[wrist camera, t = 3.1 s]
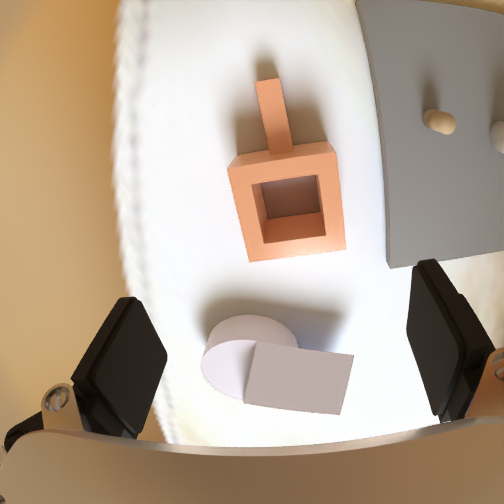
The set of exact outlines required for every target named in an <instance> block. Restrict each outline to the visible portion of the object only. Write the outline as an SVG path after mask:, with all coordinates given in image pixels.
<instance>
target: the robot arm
mask: <svg viewBox="0 0 504 504" xmlns="http://www.w3.org/2000/svg"><path fill="white" fill-rule="evenodd" d="M406 331H407V337H408V340H409V343H410V345H411V348H412V351H413V354H414V357H415V360H416V363H417V365H418V368H419V371H420V374H421V378H422V381H423V384H424V387H425V390H426V393H427V396H428V400H429V403H430V406H431V410H432V413H433V415H434V416H436V415H438V417H439V420H440V423H441V424H436V425H432V426H427V427H423V428H418V429H414V430H409V431H404V432H399V433H394V434H388V435H382V436H376V437H370V438H364V439H357V440H350V441H342V442H334V443H324V444H313V445H300V446H283V447H208V446H191V445H178V444H167V443H158V442H149V441H142V440H136V439H137V436H138V433H141V432H142V430H143V427H144V424H145V421H146V418H147V415H148V413H149V410H150V407H151V404H152V401H153V399H154V396H155V393H156V390H157V387H158V385H159V382H160V379H161V376H162V373H163V371H164V368H165V365H166V362H167V352H166V350H165V348H164V346H163V344H162V342H161V340H160V338H159V336H158V334H157V333H156V331H155V329H154V327H153V325H152V323H151V321H150V319H149V316H148V314H147V312H146V310H145V308H144V306H143V304H142V302H141V301H140V300H137V298H136V297H122V298H119V299H118V301H117V302H116V304H115V305H114V307H113V309H112V310H111V312H110V313H109V315H108V317H107V318H106V320H105V321H104V323H103V324H102V326H101V328H100V329H99V331H98V333H97V334H96V336H95V338H94V339H93V341H92V342H91V344H90V346H89V347H88V349H87V351H86V353H85V354H84V356H83V358H82V359H81V361H80V363H79V364H78V366H77V368H76V370H75V371H74V373H73V375H72V377H71V380H72V381H73V382H74V385H73V387H72V386H70V385H69V384H66V383H60V384H57V385H55V386H53V387H52V388H50V389H49V390H48V391H47V392H46V394H45V395H44V397H43V399H42V402H41V409H42V411H40V412H38V413H37V414H35V415H33V416H31V417H30V418H28V419H26V420H25V421H23V422H21V423H19V424H17V425H16V426H14V427H13V428H11V429H10V430H9V431H8V432H7V435H6V437H5V441H4V447H5V448H4V447H3V446H1V447H0V504H504V348H499V349H497V350H496V349H495V347H494V345H493V343H492V342H491V340H490V338H489V336H488V335H487V333H486V331H485V329H484V328H483V326H482V324H481V323H480V321H479V319H478V318H477V316H476V314H475V313H474V311H473V309H472V308H471V306H470V305H469V303H468V301H467V300H466V298H465V297H464V296H463V295H462V294H459V293H458V292H457V290H456V289H455V287H454V285H453V284H452V282H451V281H450V279H449V278H448V276H447V275H446V273H445V272H444V270H443V269H442V268H441V266H440V265H439V263H438V262H437V260H436V259H434V258H432V259H426V260H420V261H418V263H417V266H413V269H412V280H411V291H410V301H409V311H408V319H407V327H406ZM447 421H450V422H447ZM444 422H446V423H444ZM121 437H122V438H121Z"/></svg>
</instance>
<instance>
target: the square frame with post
mask: <svg viewBox="0 0 504 504" xmlns="http://www.w3.org/2000/svg"><path fill="white" fill-rule="evenodd" d="M255 86H256V91H257V95H258V100H259V105H260V109H261V114H262V119H263V124H264V128H265V133H266V138H267V143H268V148H269V150H263V151H257V152H251V153H246V154H241V155H237V156H236V157H235V159H234V160H233V161H232V163H231V164H230V165H229V167H228V168H227V171H228V175H229V180H230V184H231V188H232V192H233V196H234V200H235V205H236V209H237V213H238V217H239V221H240V225H241V230H242V234H243V238H244V242H245V246H246V250H247V254H248V259H249V262H255V261H263V260H271V259H279V258H287V257H295V256H302V255H310V254H318V253H325V252H333V251H341V250H346V242H345V230H344V218H343V208H342V199H341V190H340V181H339V173H338V165H337V157H336V152H335V150H334V149H333V147H332V146H331V145H330V143H329V142H328V141H323V142H315V143H308V144H301V145H294V146H293V144H292V139H291V133H290V128H289V123H288V118H287V113H286V107H285V102H284V98H283V93H282V88H281V83H280V79H279V78H274V79H269V80H263V81H258V82H255ZM310 175H316V181H317V188H318V195H319V202H320V210H321V212H316V213H309V214H302V215H294V216H287V217H280V218H273V219H268V218H267V213H266V208H265V203H264V199H263V194H262V189H261V184H260V183H263V182H269V181H276V180H282V179H289V178H296V177H302V176H310Z"/></svg>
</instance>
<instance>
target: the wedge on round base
mask: <svg viewBox="0 0 504 504" xmlns="http://www.w3.org/2000/svg"><path fill="white" fill-rule="evenodd" d="M353 358H354V355H347V354H339V353H331V352H323V351H316V350H309V349H302V348H298V342H297V340H296V337H295V336H294V334H293V333H292V332H291V331H290V330H289V329H288V328H287V327H286V326H285V325H283V324H281V323H280V322H278V321H276V320H274V319H271V318H268V317H264V316H260V315H238V316H233V317H230V318H227V319H225V320H223V321H221V322H220V323H218V324H217V325H216V326H215V327H214V328H213V329H212V331H211V333H210V335H209V338H208V341H207V344H206V348H205V351H204V354H203V358H202V361H201V371H202V374H203V376H204V378H205V380H206V381H207V382H208V383H209V384H210V385H211V386H212V387H213V388H214V389H216V390H217V391H219V392H220V393H222V394H224V395H227V396H229V397H232V398H235V399H239V400H243V402H244V403H245V404H251V405H258V406H264V407H271V408H278V409H286V410H294V411H303V412H312V413H323V414H335V415H340V412H341V408H342V405H343V401H344V397H345V393H346V389H347V385H348V380H349V376H350V372H351V367H352V363H353Z"/></svg>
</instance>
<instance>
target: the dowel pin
mask: <svg viewBox="0 0 504 504" xmlns="http://www.w3.org/2000/svg"><path fill="white" fill-rule="evenodd" d="M422 121H423V123H424V125H425V126H426V127H427V128H430V129H432V130H435V131H438V132H440V133H443V134H447V135H448V134H451V133H452V132H453V131H454V130H455V128H456V121H455V118H454V117H453V116H452V115H451V114H450V113H447V112H443V111H438V110H434V109H427V110H425V111H424V113H423V115H422Z"/></svg>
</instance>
